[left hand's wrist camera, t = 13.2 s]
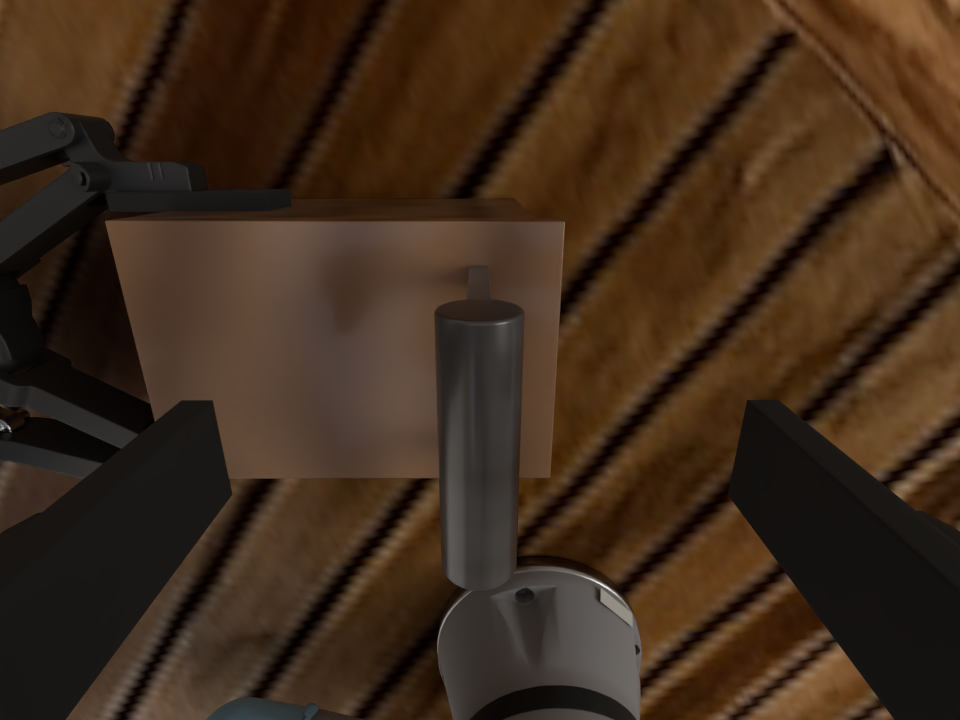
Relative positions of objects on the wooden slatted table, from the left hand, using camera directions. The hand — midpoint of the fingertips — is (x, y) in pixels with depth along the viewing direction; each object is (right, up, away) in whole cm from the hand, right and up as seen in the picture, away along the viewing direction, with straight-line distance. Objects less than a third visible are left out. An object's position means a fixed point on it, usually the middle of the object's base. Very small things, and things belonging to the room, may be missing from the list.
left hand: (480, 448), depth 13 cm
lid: (-5, +3, +7) cm, 9 cm away
